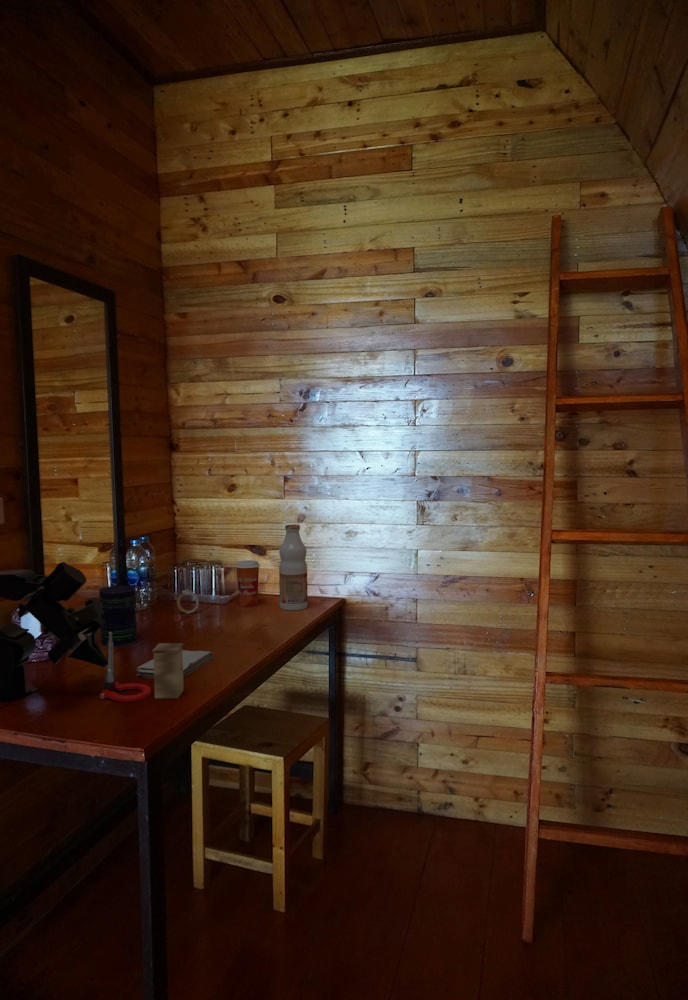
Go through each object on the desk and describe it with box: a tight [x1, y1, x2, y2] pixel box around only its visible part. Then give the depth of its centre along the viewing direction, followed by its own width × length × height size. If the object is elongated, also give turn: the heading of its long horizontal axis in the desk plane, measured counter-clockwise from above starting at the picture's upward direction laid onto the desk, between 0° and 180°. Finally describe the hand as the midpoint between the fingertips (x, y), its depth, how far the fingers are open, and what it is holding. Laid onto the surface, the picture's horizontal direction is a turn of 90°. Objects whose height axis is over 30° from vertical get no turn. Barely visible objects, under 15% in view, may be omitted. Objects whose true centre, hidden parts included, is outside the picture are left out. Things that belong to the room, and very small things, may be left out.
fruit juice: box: [278, 524, 309, 612], centre depth 229 cm, size 9×9×28 cm
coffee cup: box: [235, 559, 261, 608], centre depth 234 cm, size 8×8×15 cm
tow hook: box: [98, 632, 152, 703], centre depth 149 cm, size 9×14×10 cm
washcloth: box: [135, 649, 214, 679], centre depth 168 cm, size 12×18×3 cm, turn 164°
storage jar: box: [98, 577, 138, 648], centre depth 190 cm, size 10×10×18 cm
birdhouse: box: [151, 642, 184, 699], centre depth 151 cm, size 5×9×11 cm, turn 0°
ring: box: [176, 588, 200, 614], centre depth 223 cm, size 7×3×8 cm, turn 83°
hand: (106, 665), depth 149 cm, fingers closed
